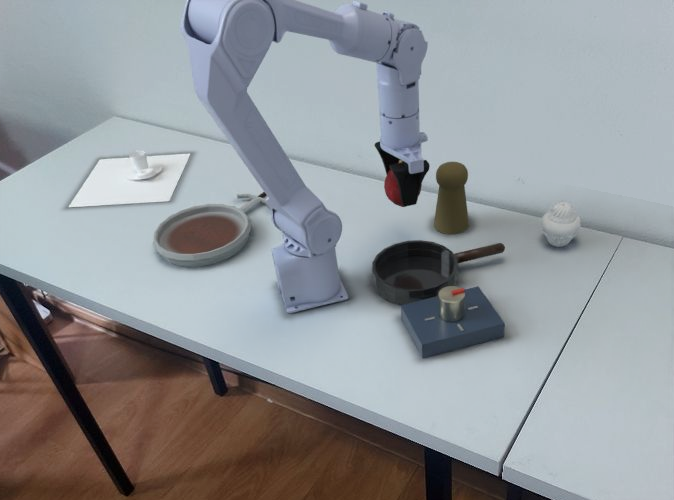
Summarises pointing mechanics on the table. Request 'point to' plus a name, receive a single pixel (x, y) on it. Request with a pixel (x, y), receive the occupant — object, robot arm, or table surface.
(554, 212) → the muffin
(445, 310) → the knob
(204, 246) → the frying pan
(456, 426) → the table surface
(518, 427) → the table surface
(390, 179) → the red pomegranate
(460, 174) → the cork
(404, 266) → the skillet
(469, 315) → the blue control panel
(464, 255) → the skillet handle
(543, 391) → the table surface
